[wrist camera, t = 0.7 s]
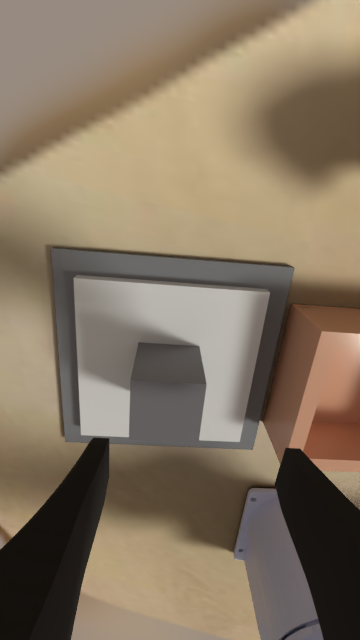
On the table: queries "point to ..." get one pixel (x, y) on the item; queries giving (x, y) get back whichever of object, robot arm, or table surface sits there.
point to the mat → (168, 270)
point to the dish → (318, 387)
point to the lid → (165, 357)
